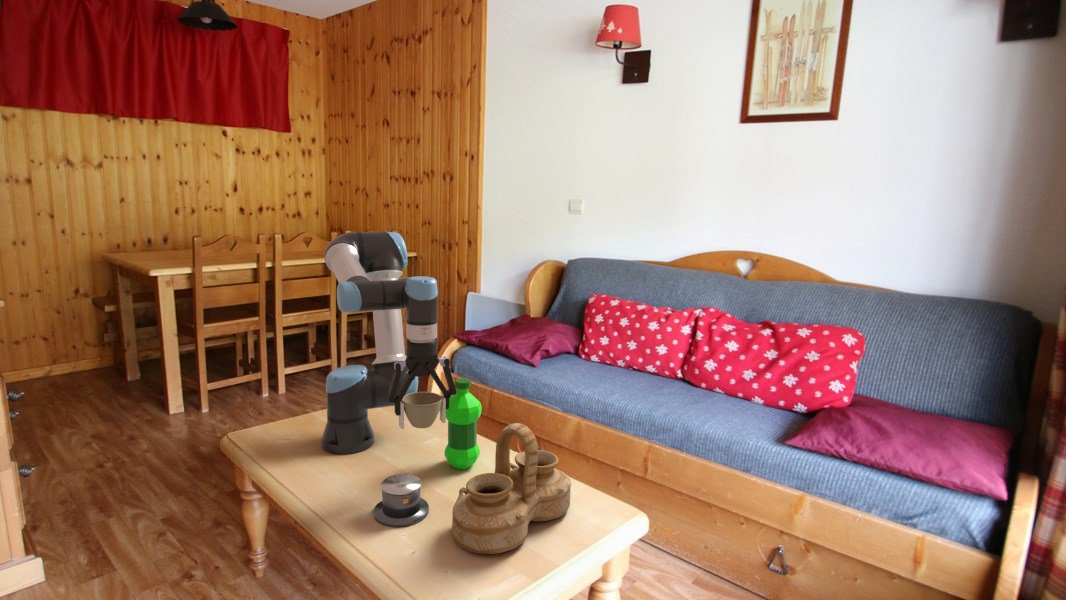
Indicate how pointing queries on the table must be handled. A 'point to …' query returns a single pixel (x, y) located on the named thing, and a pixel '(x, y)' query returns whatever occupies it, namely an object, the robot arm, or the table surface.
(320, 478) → the table surface
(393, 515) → the grey top hat
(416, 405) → the flower pot
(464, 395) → the plastic bottle
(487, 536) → the ceramic vessel
